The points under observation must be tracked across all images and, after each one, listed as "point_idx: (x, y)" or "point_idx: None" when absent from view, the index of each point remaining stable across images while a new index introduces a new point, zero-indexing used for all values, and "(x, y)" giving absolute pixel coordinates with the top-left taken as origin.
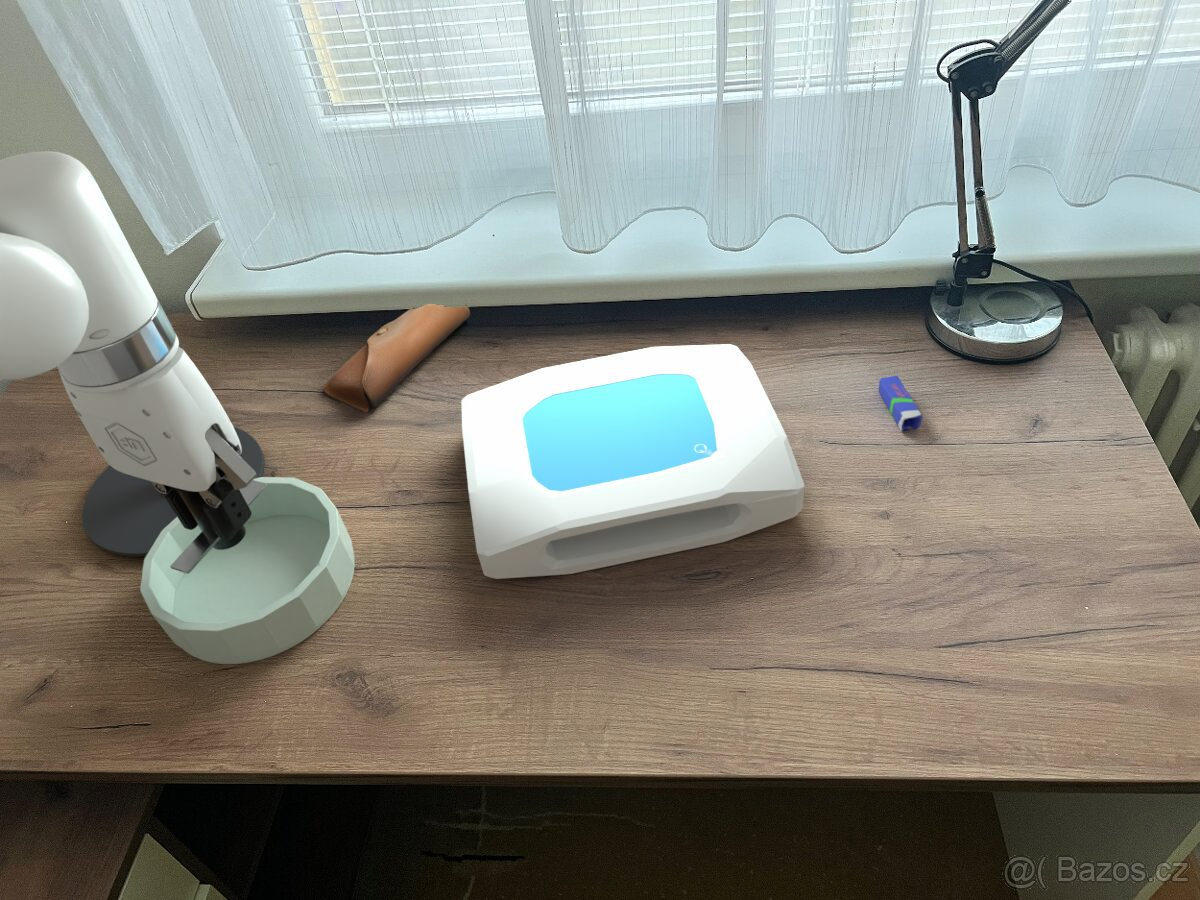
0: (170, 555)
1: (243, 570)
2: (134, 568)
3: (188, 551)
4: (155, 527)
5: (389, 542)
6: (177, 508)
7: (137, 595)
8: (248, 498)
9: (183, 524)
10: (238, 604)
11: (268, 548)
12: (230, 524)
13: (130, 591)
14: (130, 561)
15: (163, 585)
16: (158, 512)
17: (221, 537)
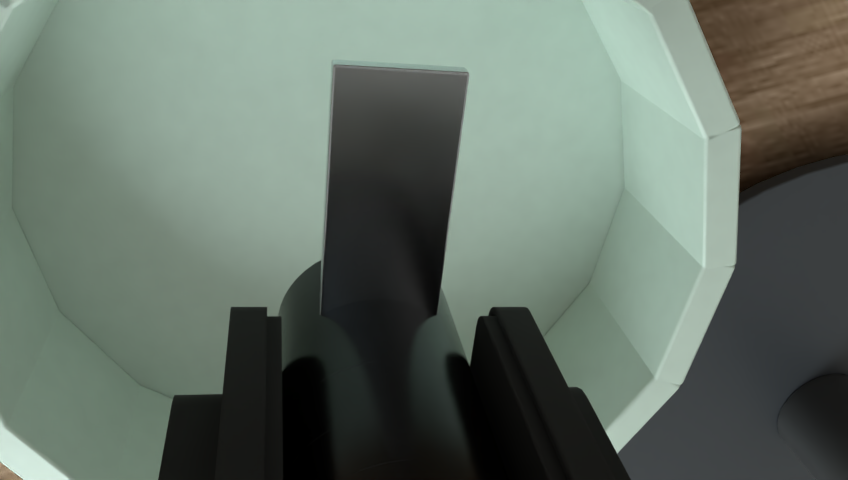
0: (669, 183)
1: None
2: (814, 122)
3: (424, 190)
4: (806, 269)
5: None
6: (544, 421)
7: (754, 29)
8: None
9: (527, 326)
10: None
11: None
12: (200, 407)
13: (786, 37)
14: (839, 141)
15: (635, 61)
16: (822, 317)
17: (255, 316)
